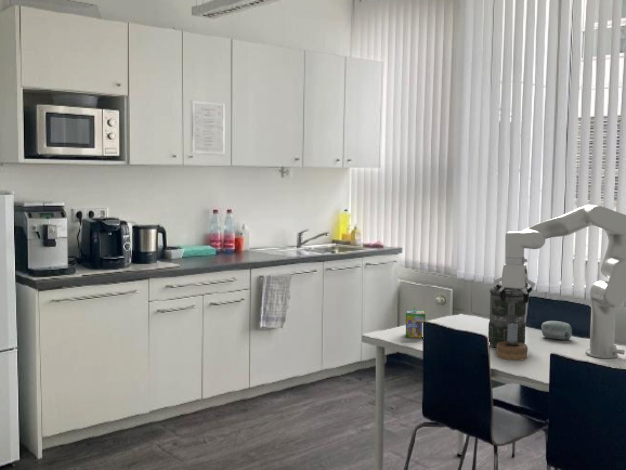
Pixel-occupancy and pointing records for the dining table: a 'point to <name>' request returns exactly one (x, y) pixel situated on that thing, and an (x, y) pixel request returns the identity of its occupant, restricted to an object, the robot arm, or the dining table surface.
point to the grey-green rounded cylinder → (556, 330)
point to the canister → (506, 315)
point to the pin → (512, 334)
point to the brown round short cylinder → (511, 351)
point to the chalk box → (414, 323)
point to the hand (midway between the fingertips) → (514, 301)
